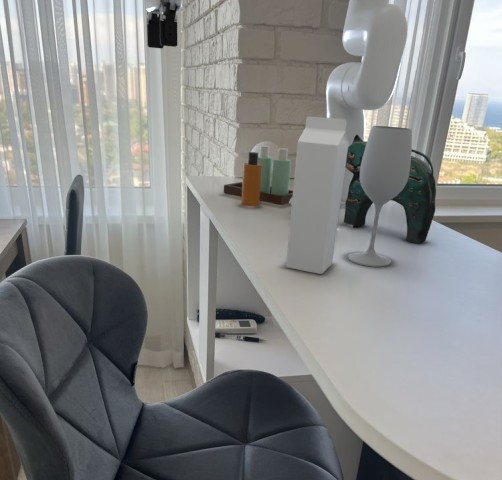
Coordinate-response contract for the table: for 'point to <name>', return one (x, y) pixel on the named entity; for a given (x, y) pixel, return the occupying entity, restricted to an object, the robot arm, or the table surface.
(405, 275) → the table surface
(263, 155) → the bottle
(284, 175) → the bottle
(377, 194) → the wineglass
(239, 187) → the tray
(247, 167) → the amber bottle
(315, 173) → the milk
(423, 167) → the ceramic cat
